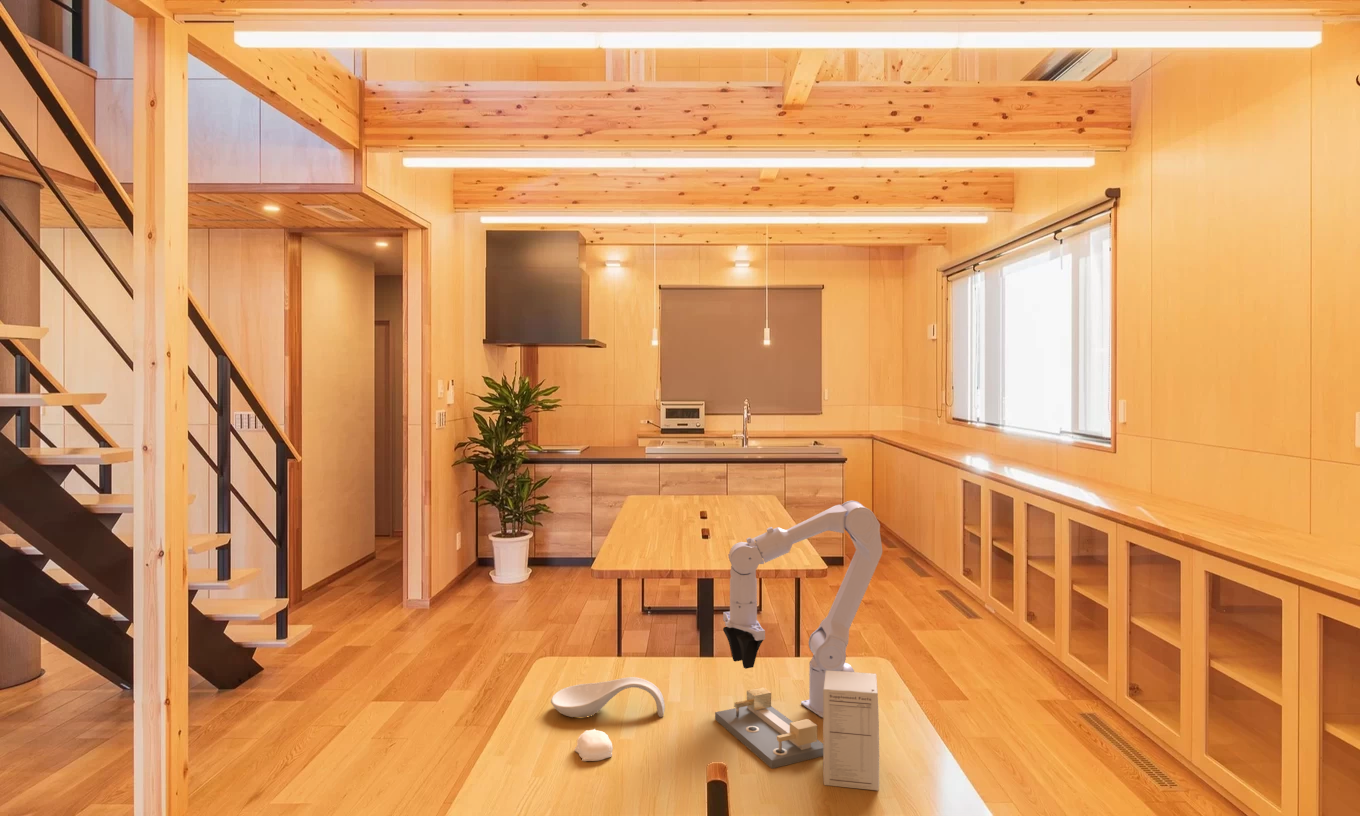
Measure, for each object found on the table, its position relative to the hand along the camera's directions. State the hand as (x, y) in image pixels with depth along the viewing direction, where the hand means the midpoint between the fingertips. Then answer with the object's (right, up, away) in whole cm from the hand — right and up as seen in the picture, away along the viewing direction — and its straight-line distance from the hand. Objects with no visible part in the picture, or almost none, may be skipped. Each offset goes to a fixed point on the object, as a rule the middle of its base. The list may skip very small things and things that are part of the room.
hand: (743, 663), depth 161 cm
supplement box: (+17, -10, -28) cm, 34 cm away
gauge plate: (+4, -10, -13) cm, 17 cm away
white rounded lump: (-29, -10, -19) cm, 37 cm away
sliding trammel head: (+1, -8, -6) cm, 10 cm away
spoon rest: (-29, -10, -2) cm, 30 cm away
